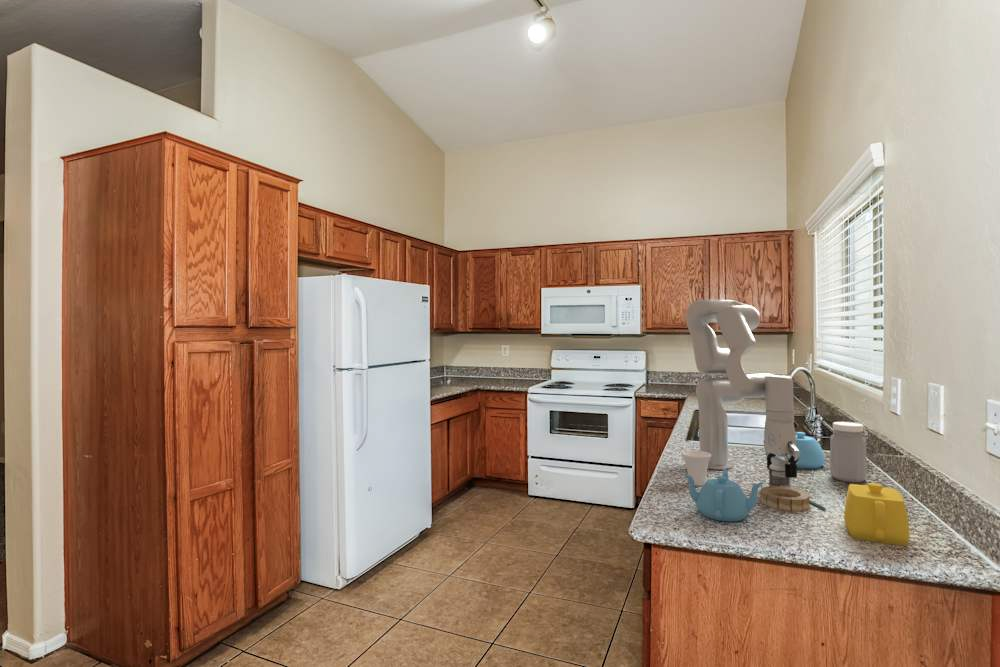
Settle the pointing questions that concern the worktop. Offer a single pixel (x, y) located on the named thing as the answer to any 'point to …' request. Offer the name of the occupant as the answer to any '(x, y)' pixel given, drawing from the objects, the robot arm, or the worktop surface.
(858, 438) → the jar
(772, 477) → the pill bottle
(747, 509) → the teapot
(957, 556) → the worktop surface
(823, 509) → the green stick
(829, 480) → the worktop surface
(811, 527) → the worktop surface
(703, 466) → the cup
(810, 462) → the sugar bowl
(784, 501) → the segmented tan ring
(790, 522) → the worktop surface
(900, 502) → the teapot
